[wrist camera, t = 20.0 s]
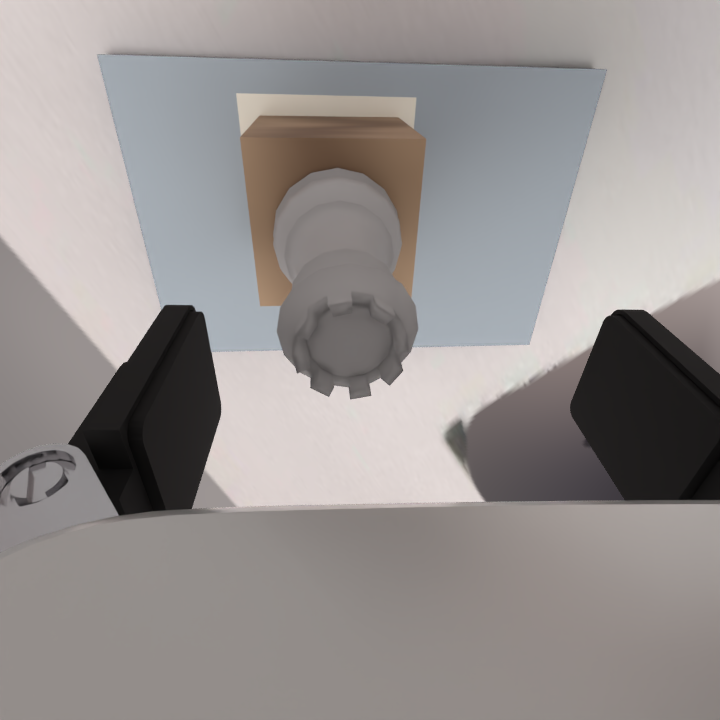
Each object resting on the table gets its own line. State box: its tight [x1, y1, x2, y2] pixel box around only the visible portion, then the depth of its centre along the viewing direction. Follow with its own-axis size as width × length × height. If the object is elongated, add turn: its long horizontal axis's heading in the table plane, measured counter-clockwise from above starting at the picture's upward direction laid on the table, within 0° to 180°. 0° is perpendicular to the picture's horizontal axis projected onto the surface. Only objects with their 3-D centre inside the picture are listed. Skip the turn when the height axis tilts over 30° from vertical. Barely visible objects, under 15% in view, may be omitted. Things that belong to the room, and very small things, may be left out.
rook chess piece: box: [273, 168, 418, 399], centre depth 13 cm, size 4×4×8 cm
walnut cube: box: [240, 116, 426, 306], centre depth 19 cm, size 6×6×6 cm
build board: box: [97, 54, 607, 352], centre depth 23 cm, size 21×14×1 cm, turn 88°
